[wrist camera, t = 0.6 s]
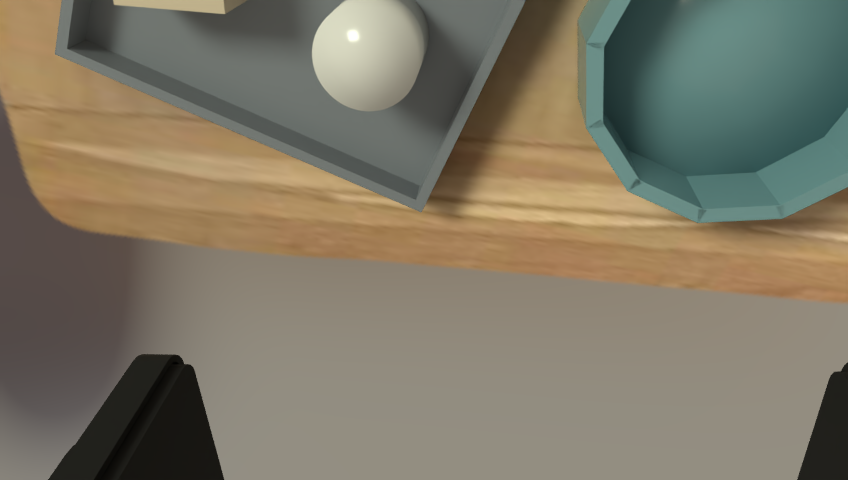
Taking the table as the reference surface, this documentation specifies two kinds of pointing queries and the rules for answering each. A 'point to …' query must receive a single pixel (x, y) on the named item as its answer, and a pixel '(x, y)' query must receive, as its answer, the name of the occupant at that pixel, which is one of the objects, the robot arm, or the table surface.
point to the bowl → (719, 102)
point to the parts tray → (298, 80)
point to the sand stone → (185, 5)
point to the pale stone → (370, 52)
